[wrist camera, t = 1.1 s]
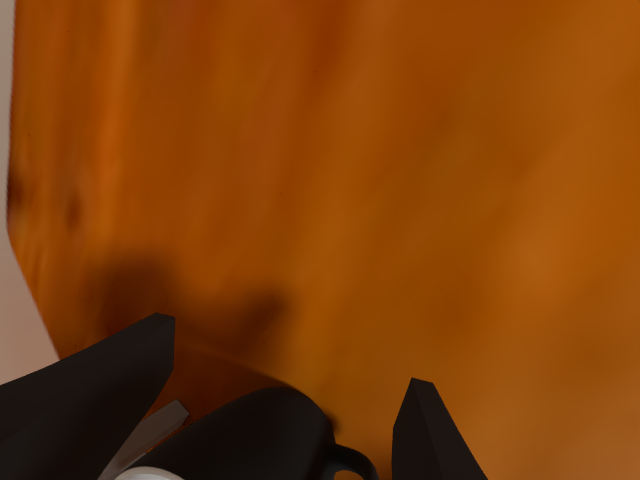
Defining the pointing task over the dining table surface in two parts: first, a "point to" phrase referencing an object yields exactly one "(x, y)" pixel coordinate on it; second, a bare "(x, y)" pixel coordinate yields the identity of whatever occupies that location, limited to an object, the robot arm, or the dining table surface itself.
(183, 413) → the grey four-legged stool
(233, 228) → the dining table surface
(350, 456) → the mug
